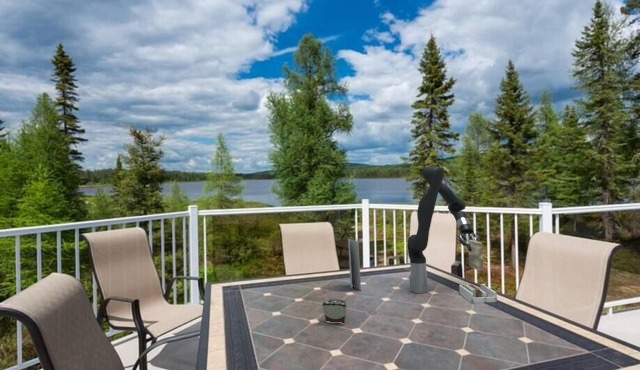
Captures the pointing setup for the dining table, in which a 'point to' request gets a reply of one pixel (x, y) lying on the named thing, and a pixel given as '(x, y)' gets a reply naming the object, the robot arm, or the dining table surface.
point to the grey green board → (476, 255)
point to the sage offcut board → (471, 290)
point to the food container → (335, 310)
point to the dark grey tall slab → (354, 263)
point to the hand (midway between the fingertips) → (473, 250)
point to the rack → (483, 293)
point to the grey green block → (476, 291)
